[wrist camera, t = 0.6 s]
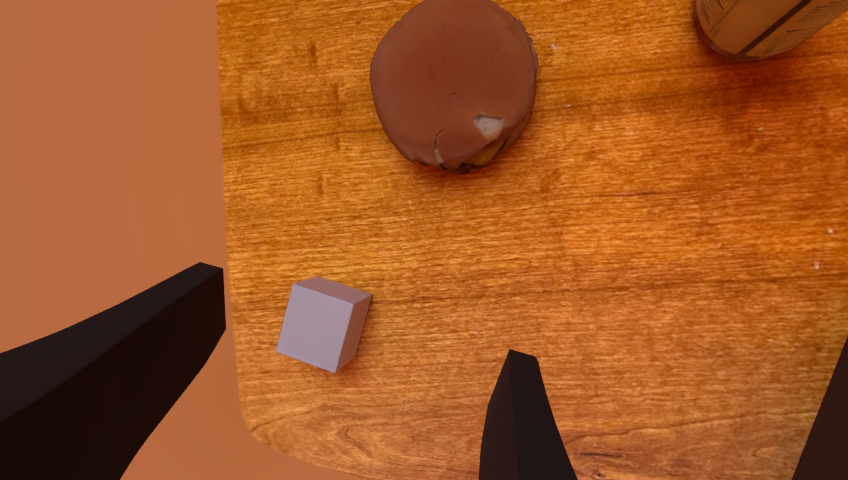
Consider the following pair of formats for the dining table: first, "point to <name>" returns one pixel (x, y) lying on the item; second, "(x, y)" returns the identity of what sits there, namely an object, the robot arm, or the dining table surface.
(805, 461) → the bin
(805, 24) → the sauce bottle
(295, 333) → the cube
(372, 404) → the dining table surface
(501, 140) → the chocolate glazed sandwich cookie
